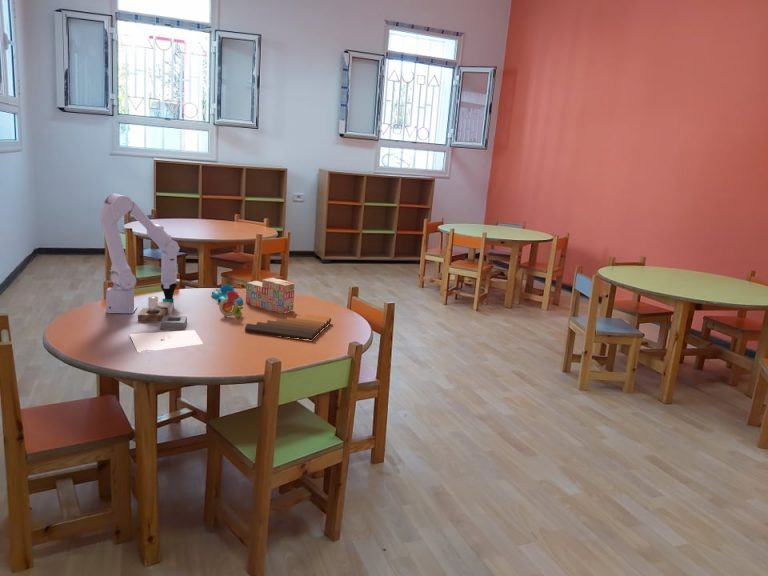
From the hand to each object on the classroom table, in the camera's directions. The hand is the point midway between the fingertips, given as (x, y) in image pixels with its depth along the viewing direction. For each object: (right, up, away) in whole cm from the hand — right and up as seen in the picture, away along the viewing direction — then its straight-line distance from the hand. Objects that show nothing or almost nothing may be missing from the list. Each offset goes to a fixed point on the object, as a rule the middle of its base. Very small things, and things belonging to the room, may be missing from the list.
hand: (168, 301), depth 230 cm
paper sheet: (+17, -14, -45) cm, 50 cm away
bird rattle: (+27, -6, -8) cm, 29 cm away
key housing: (+2, -4, -10) cm, 11 cm away
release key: (+1, -2, -5) cm, 6 cm away
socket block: (+1, -6, -18) cm, 19 cm away
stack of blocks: (+38, -3, +10) cm, 40 cm away
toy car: (+19, 0, +16) cm, 25 cm away
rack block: (+11, -8, -25) cm, 28 cm away
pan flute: (+51, -10, -15) cm, 54 cm away
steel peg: (+1, -6, -18) cm, 19 cm away
